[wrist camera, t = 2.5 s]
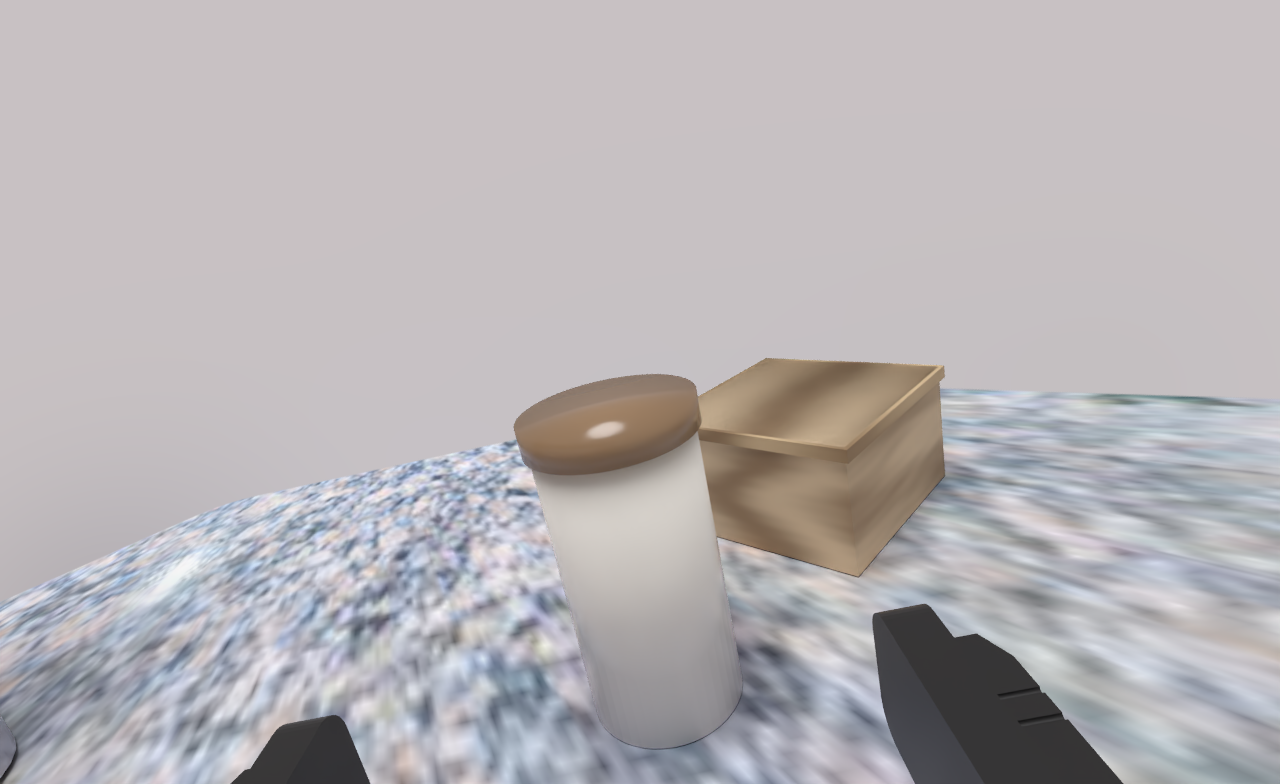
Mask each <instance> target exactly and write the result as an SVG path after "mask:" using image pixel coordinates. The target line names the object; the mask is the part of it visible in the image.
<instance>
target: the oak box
mask: <svg viewBox="0 0 1280 784" xmlns="http://www.w3.org/2000/svg"><path fill="white" fill-rule="evenodd" d="M944 377H945V375H944V366H941V365H918V364H892V363H869V362H845V361H821V360H820V361H819V360H795V359H772V358H765V359H764V360H762V361H760V362H758V363H757V364H755V365H753V366H751V367H750V368H748V369H746V370H744V371H743V372H741V373H739V374H737V375H736V376H734V377H732V378H730V379H729V380H727V381H725V382H723V383H721V384H720V385H718V386H716V387H714V388H713V389H711V390H709V391H707V392H706V393H704V394H702V395H700V396H699V397H698V401H699V407H700V413H701V418H702V422H701V426H700V428H699V430H698V437H699V442H700V448H701V453H702V459H703V464H704V470H705V475H706V481H707V486H708V492H709V497H710V503H711V508H712V514H713V519H714V525H715V530H716V536H718V537H721V538H725V539H728V540H732V541H735V542H739V543H742V544H746V545H749V546H753V547H756V548H760V549H763V550H767V551H770V552H774V553H777V554H781V555H784V556H788V557H791V558H795V559H798V560H802V561H805V562H808V563H812V564H815V565H819V566H822V567H826V568H829V569H833V570H836V571H840V572H843V573H847V574H850V575H854V576H857V577H859V576H860V575H861V573H862V572H863V571H864V570H865V569H866V567H867V566H868V565H869V564H870V563H871V562H872V560H873V559H874V558H875V557H876V556H877V555H878V553H879V552H880V551H881V550H882V549H883V547H884V546H885V545H886V544H887V543H888V542H889V540H890V539H891V538H892V537H893V536H894V535H895V533H896V532H897V531H898V530H899V529H900V527H901V526H902V525H903V524H904V523H905V522H906V520H907V519H908V518H909V517H910V516H911V515H912V513H913V512H914V511H915V510H916V509H917V507H918V506H919V505H920V504H921V503H922V502H923V500H924V499H925V498H926V497H927V496H928V495H929V493H930V492H931V491H932V490H933V489H934V487H935V486H936V485H937V484H938V483H939V482H940V480H941V479H942V478H943V477H944V476H945V469H944V453H943V436H942V420H941V403H940V386H939V382H940V381H941V380H942V379H943V378H944Z"/></svg>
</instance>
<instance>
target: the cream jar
mask: <svg viewBox="0 0 1280 784" xmlns="http://www.w3.org/2000/svg"><path fill="white" fill-rule="evenodd" d="M701 422H702V418H701V413H700V407H699V401H698V396H697V390H696V386H695V385H694V383H693V382H691V381H690V380H688V379H686V378H682V377H679V376H673V375H661V374H649V375H648V374H646V375H634V376H625V377H618V378H612V379H607V380H603V381H597V382H593V383H589V384H585V385H582V386H579V387H575V388H572V389H569V390H566V391H564V392H561V393H558V394H556V395H553V396H551V397H548V398H547V399H545V400H542V401H540V402H538V403H537V404H535V405H533V406H532V407H530V408H529V409H527V410H526V411H525V412H523V413H522V414H521V415H520V416H519V417H518V418H517V420H516V421H515V424H514V431H515V435H516V439H517V442H518V446H519V450H520V453H521V457H522V460H523V462H524V464H525V465H527V466H528V467H529V468H531V469H532V472H533V476H534V480H535V484H536V487H537V491H538V495H539V499H540V502H541V506H542V510H543V514H544V517H545V521H546V525H547V528H548V532H549V536H550V540H551V543H552V547H553V551H554V555H555V558H556V562H557V566H558V569H559V573H560V577H561V581H562V584H563V588H564V592H565V596H566V599H567V603H568V607H569V610H570V614H571V618H572V622H573V625H574V629H575V633H576V637H577V640H578V644H579V648H580V651H581V655H582V659H583V663H584V666H585V670H586V674H587V678H588V681H589V685H590V689H591V692H592V696H593V700H594V704H595V707H596V711H597V715H598V717H599V719H600V721H601V723H602V725H603V726H604V727H605V729H606V730H607V731H608V732H609V733H610V734H612V735H613V736H614V737H616V738H617V739H619V740H621V741H623V742H625V743H627V744H630V745H633V746H637V747H641V748H649V749H665V748H673V747H678V746H682V745H686V744H689V743H691V742H694V741H697V740H699V739H701V738H703V737H705V736H707V735H708V734H710V733H711V732H713V731H714V730H716V729H717V728H718V727H719V726H721V725H722V724H723V723H724V722H725V721H726V720H727V719H728V718H729V716H730V715H731V714H732V712H733V711H734V710H735V708H736V706H737V704H738V702H739V699H740V697H741V693H742V685H743V680H742V673H741V668H740V662H739V657H738V651H737V646H736V640H735V635H734V629H733V624H732V618H731V613H730V607H729V602H728V596H727V591H726V585H725V580H724V574H723V569H722V563H721V558H720V552H719V547H718V541H717V536H716V530H715V525H714V519H713V514H712V508H711V503H710V497H709V492H708V486H707V481H706V475H705V470H704V464H703V459H702V453H701V448H700V442H699V437H698V430H699V428H700V426H701Z"/></svg>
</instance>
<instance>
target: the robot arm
mask: <svg viewBox="0 0 1280 784" xmlns="http://www.w3.org/2000/svg"><path fill="white" fill-rule="evenodd" d="M873 633H874V641H875V649H876V657H877V665H878V674H879V682H880V690H881V698H882V703H883V708H884V712H885V716H886V719H887V723H888V726H889V729H890V732H891V734H892V737H893V739H894V742H895V744H896V746H897V748H898V750H899V752H900V754H901V756H902V758H903V760H904V762H905V764H906V766H907V768H908V770H909V772H910V774H911V776H912V778H913V780H914V782H915V784H1123V783H1122V782H1121V780H1120V779H1119V778H1118V777H1117V776H1116V775H1115V773H1114V772H1113V771H1112V770H1111V769H1110V768H1109V767H1108V765H1107V764H1106V763H1105V762H1104V761H1103V760H1102V758H1101V757H1100V756H1099V755H1098V754H1097V753H1096V751H1095V750H1094V749H1093V748H1092V747H1091V746H1090V744H1089V743H1088V742H1087V741H1086V740H1085V739H1084V737H1083V736H1082V735H1081V734H1080V733H1079V732H1078V731H1077V729H1076V728H1075V727H1074V726H1073V725H1072V724H1071V722H1070V721H1069V720H1065V719H1064V717H1063V715H1062V712H1061V711H1060V710H1059V708H1058V707H1057V706H1056V705H1055V704H1054V703H1053V702H1052V700H1051V699H1050V698H1049V697H1048V696H1047V695H1046V693H1042V692H1041V690H1040V686H1039V685H1038V684H1037V683H1036V682H1035V681H1034V679H1033V678H1032V677H1031V676H1030V675H1029V674H1028V672H1027V671H1026V670H1025V669H1024V668H1023V667H1022V666H1021V664H1020V663H1019V662H1018V661H1017V660H1016V659H1015V657H1014V656H1012V655H1011V654H1009V653H1008V652H1006V651H1004V650H1003V649H1001V648H999V647H998V646H996V645H994V644H993V643H991V642H990V641H988V640H986V639H985V638H983V637H981V636H980V635H978V634H972V635H967V636H961V637H956V638H954V637H953V636H952V634H951V633H950V632H949V630H948V629H947V628H946V627H945V625H944V624H943V623H942V621H941V620H940V619H939V617H938V616H937V615H936V613H935V612H934V611H933V610H932V608H931V607H930V606H928V605H927V604H920V605H915V606H910V607H905V608H900V609H894V610H889V611H884V612H879V613H875V614H874V615H873ZM15 751H16V742H15V738H14V736H13V734H12V733H11V731H10V730H9V728H8V726H7V725H6V723H5V721H4V720H3V718H2V717H1V715H0V778H1V777H2V775H3V774H4V772H5V771H6V769H7V768H8V766H9V765H10V763H11V761H12V759H13V756H14V753H15ZM231 784H370V782H369V779H368V777H367V774H366V772H365V770H364V767H363V765H362V762H361V760H360V758H359V755H358V753H357V750H356V748H355V746H354V743H353V741H352V738H351V736H350V734H349V731H348V729H347V726H346V724H345V722H344V721H343V720H342V719H341V718H340V717H339V716H336V715H331V716H326V717H320V718H315V719H310V720H305V721H299V722H294V723H289V724H285V725H283V726H281V727H279V728H278V729H277V730H276V731H275V733H274V734H273V735H272V737H271V738H270V740H269V741H268V743H267V744H266V746H265V747H264V749H263V750H262V752H261V753H260V755H259V756H258V758H257V759H256V761H255V763H254V764H253V766H252V767H251V769H247V770H244V771H243V772H242V773H241V774H240V775H239V776H238V777H237V778H236V779H235V780H234V781H233V782H232V783H231Z"/></svg>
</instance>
